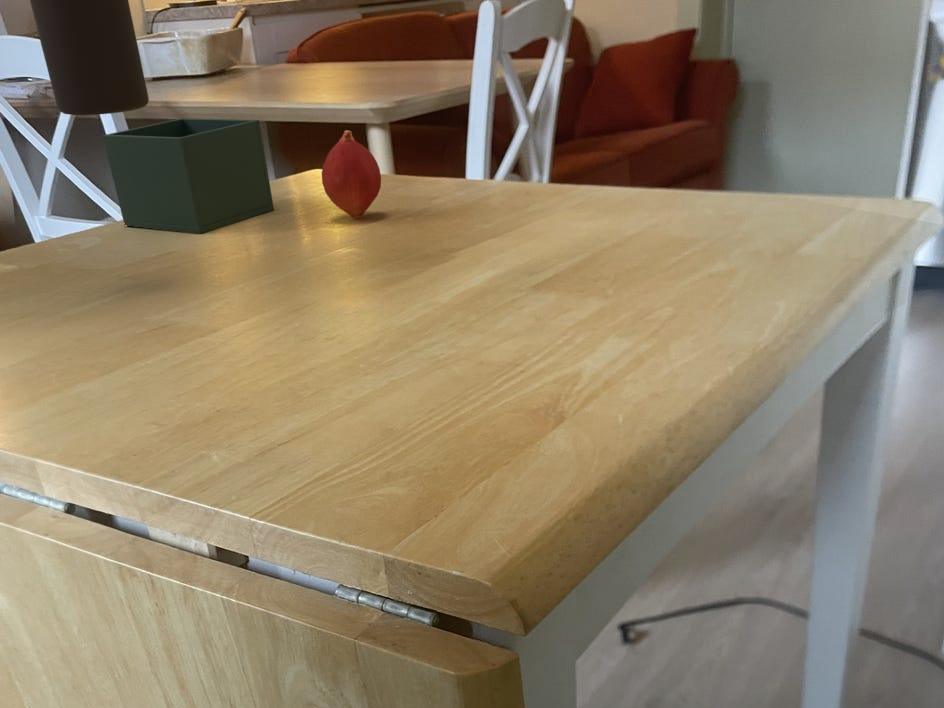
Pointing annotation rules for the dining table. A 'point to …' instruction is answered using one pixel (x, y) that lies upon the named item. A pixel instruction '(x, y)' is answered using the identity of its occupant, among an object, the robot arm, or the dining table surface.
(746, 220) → the dining table surface
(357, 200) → the onion
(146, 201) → the open box
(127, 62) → the vinegar
